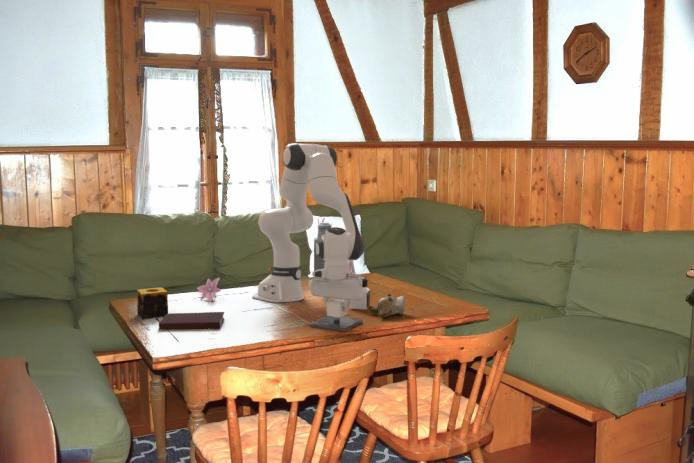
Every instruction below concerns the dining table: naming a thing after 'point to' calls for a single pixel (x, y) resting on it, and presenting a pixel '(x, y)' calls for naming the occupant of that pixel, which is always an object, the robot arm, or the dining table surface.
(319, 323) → the post plate
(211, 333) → the dining table surface
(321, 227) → the grey elongated piece
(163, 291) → the yellow holed cube
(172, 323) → the book
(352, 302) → the medicine bottle
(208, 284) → the lily
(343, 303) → the cream rectangular prism
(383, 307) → the ceramic sculpture
